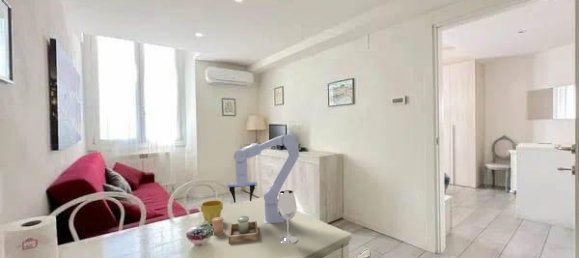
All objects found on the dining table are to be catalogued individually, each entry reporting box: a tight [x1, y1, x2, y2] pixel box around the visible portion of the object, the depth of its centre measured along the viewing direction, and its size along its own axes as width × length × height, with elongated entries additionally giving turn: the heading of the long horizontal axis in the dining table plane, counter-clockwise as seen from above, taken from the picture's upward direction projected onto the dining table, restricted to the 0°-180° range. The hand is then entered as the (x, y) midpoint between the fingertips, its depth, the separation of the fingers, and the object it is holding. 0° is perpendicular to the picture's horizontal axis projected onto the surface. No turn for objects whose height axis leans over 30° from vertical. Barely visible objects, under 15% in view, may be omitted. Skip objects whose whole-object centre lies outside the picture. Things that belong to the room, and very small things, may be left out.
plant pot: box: [200, 199, 224, 226], centre depth 132 cm, size 10×10×10 cm
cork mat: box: [213, 228, 226, 236], centre depth 120 cm, size 7×7×1 cm
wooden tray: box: [227, 220, 259, 244], centre depth 117 cm, size 12×14×3 cm
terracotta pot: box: [212, 216, 224, 235], centre depth 120 cm, size 5×5×6 cm
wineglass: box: [278, 189, 298, 244], centre depth 110 cm, size 8×8×20 cm
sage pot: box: [236, 215, 250, 233], centre depth 120 cm, size 5×5×6 cm
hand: (242, 201), depth 133 cm, fingers open, 7 cm apart
